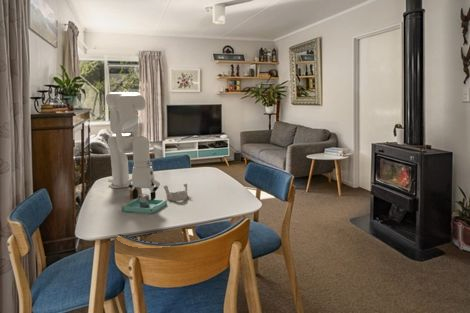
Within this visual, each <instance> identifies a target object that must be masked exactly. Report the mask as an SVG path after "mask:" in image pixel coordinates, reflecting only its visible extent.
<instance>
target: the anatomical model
mask: <svg viewBox="0 0 470 313" xmlns="http://www.w3.org/2000/svg"><path fill="white" fill-rule="evenodd" d="M183 187H184V190H182V191H181V190H180V191H175V192H173V191H172V192H170V190H169V186H168V185H163V189H164V190H165V194H166V200H168V201H171V202H181V201H186V200H187V199H188V198H189V195H188V183H184V184H183Z"/></svg>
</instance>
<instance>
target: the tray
mask: <svg viewBox="0 0 470 313" xmlns="http://www.w3.org/2000/svg"><path fill="white" fill-rule="evenodd" d="M167 200H168V199H159V198H155V199H154V200H151V198H149V202H150V207H148V208H141V207H140V200H139V198H137V199H132V201H130V202H128V203H126V204H125V205H122V206H121V211H122V212H123V213H124V212H125V213H133V214H135V213H136V214H146V215H147V214H148V215H153V214H155V213H156V212H158V211H160V210H161V209H163V208H164V207H165V206H167V205H168V203H167V202H168V201H167Z"/></svg>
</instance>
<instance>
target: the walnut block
mask: <svg viewBox="0 0 470 313" xmlns="http://www.w3.org/2000/svg"><path fill="white" fill-rule="evenodd" d="M136 189H137V192H138V197H137V198H139V196H140V195H143V191H142V190H143V188H136ZM128 192H129V200H135V199H137V198H135V199H133V195H132V191H131V189H130V188H129V190H128Z"/></svg>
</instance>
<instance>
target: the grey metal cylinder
mask: <svg viewBox="0 0 470 313" xmlns="http://www.w3.org/2000/svg"><path fill="white" fill-rule="evenodd" d="M149 199H150V195H149V194H142V195H140V196H139V200H140V207H141V208H148V207H150V202H149Z"/></svg>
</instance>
